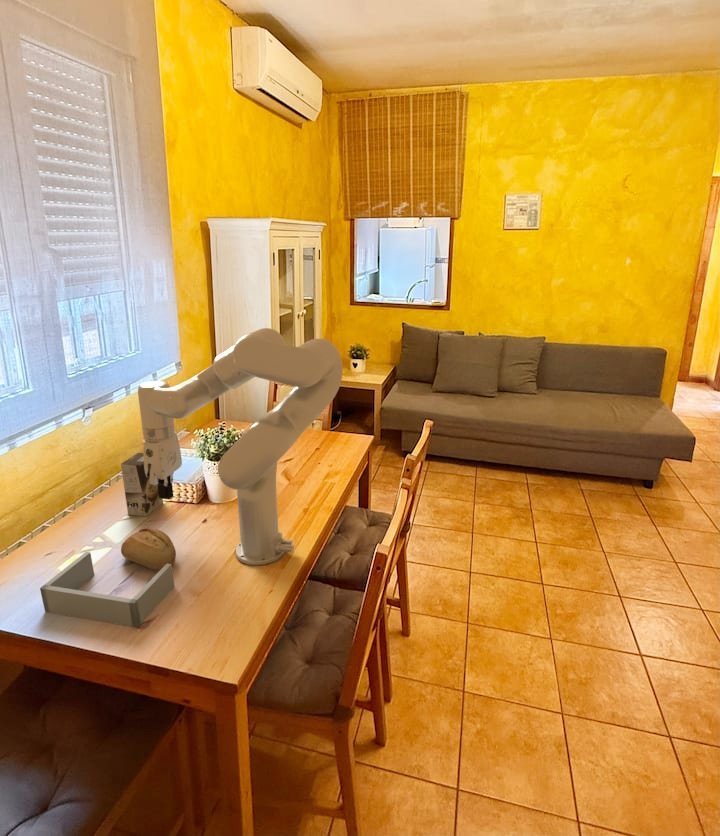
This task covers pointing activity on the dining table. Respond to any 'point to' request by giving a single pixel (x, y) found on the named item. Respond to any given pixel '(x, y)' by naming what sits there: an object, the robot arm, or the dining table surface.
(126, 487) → the coffee box
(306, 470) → the dining table surface
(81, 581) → the box
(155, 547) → the bread roll
